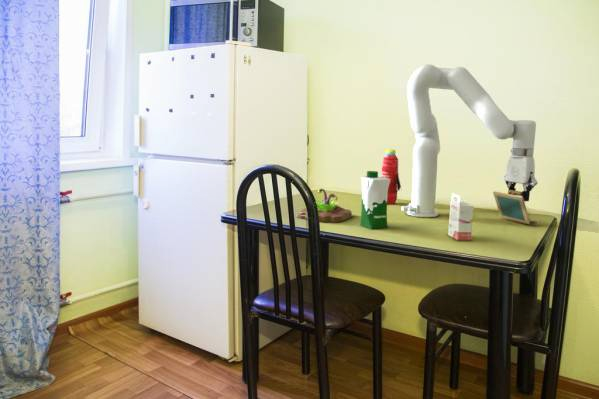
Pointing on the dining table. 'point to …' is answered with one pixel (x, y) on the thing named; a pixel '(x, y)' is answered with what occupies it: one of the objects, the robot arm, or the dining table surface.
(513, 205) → the photo frame
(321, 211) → the plant
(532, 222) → the frame foot
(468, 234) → the ink cartridge box
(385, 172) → the water bottle
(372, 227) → the milk carton
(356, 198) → the dining table surface
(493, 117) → the robot arm
